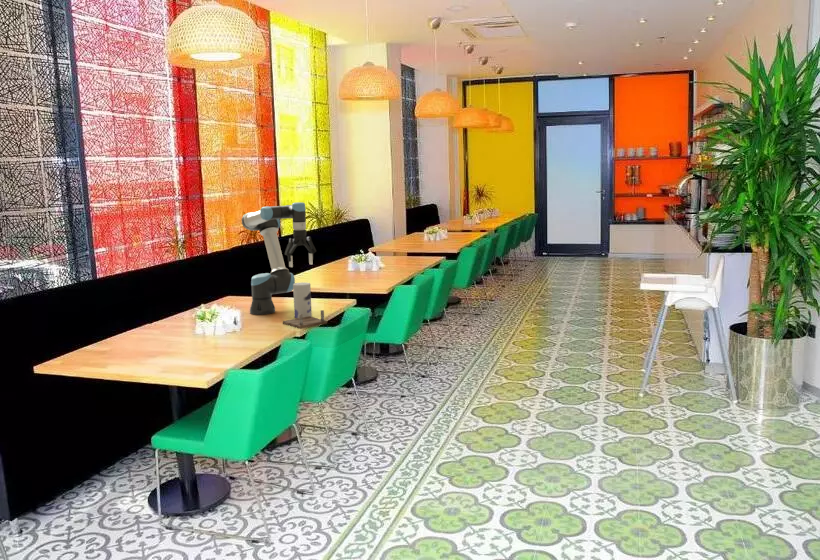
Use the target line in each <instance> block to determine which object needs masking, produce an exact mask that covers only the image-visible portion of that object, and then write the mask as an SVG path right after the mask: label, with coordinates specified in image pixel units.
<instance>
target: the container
mask: <svg viewBox="0 0 820 560" xmlns="http://www.w3.org/2000/svg"><path fill="white" fill-rule="evenodd" d="M311 291H312V289H311V283H310V282H303V281H302V282H295V283H294V284H293V290H292V292H293V309H294V312H293V313H294V319H297V318H299V314H303V317H308V316H310V317H313V316H312V315H313V314H312V293H311Z"/></svg>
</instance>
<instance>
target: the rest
mask: <svg viewBox="0 0 820 560" xmlns="http://www.w3.org/2000/svg"><path fill="white" fill-rule="evenodd" d="M282 324H283V325H286V326H289V325H290V327H292V326H293V328H296V327H297V329H306V328H311V327H317V326H321V325H327V324H328V320H326V319H325V310H320V318H317V317H315V316H312V317H310V316H308V317H303V314H299V318H293V319H286V320H282Z"/></svg>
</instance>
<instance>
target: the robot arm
mask: <svg viewBox="0 0 820 560" xmlns="http://www.w3.org/2000/svg"><path fill="white" fill-rule="evenodd" d="M306 216H307V215H306V204H305V202H303V201H302V202H293V203H292V204H287V205H278V206H276V205H273V206H269V205H267V206H262V207H260V209H259V210H258V211H251V212H247V213H245V214H243V215H242V217H241V225H242V226H243V227H244V228H245V229H246V230H249V231H252V232H255V231H258V232H259V234H260V235H261V236H262V237H263V240H264V245H265V248H266V252H267V258H268V260H269V265H270V268H271V271H270V273H269V272H265V273H263V272H262V273H258V274H255V275H253V276H252V277H251V281H250V286H251V299H252V300H251V303H250V308H249V313H250V314H251V315H259V316H260V315H270V314H275V313H276V307H275V304H274V302H273V297H272V295H277V294H285V293H290V292H293V284H294V283H296V280H295V275H294V273H292V272H290V270H289V269H288V268H287V267H286V265H285V261H284V256H287V262H288V267H289V268H293V267H294V264H293V263H294V262H293V261H294V260H293V253H294V252H295V250H296V248H297V247H299V246H304V247H305V248H306V250H307V251H308V263H309V265H313V260H314V254H315V253H317V249H316V247H315V245H314V243H313V240H312V237H311V236H307V230H306V229H307V220H306V218H307V217H306ZM282 219H283V220H285V219H292V229H293V231H292V233H293V235H292V236H293V238H291V237H290V238H288V244H287V245H286V248H285V251H284V256H283V254H282V253H283V252H282V250H281V248H282V247H281V245H280V241H279V237H278V231H279V229H280V227H281V220H282Z"/></svg>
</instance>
